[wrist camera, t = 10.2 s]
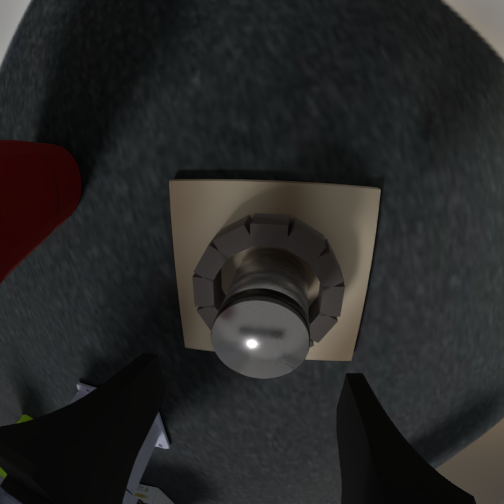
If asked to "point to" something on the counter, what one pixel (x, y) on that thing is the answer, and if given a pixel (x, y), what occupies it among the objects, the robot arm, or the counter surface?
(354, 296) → the mount plate
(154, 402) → the robot arm
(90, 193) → the counter surface
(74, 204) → the plastic cup
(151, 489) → the tea box
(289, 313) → the silver capped cylinder
